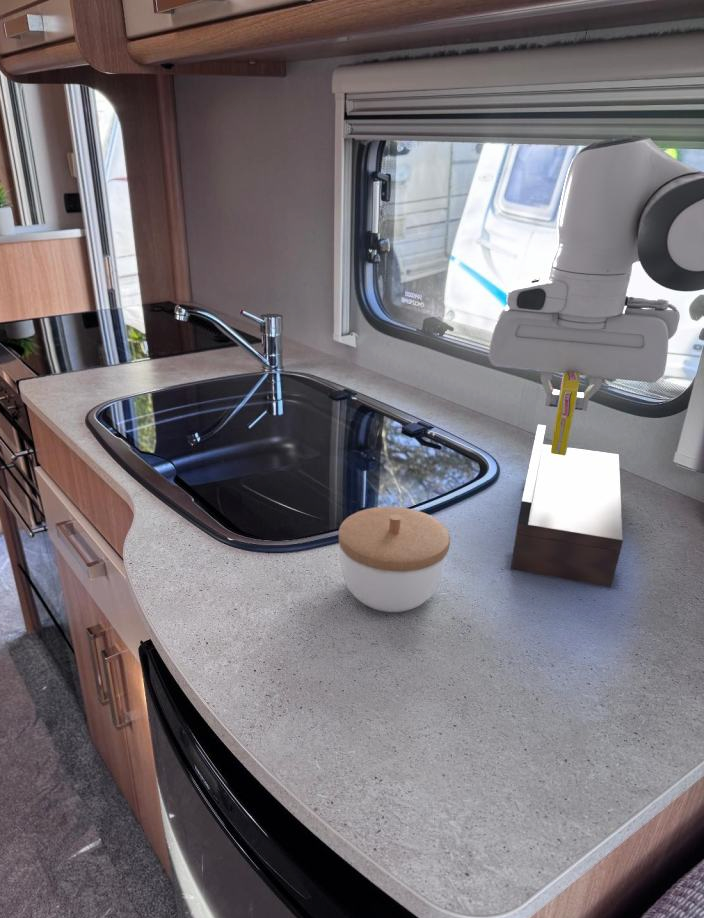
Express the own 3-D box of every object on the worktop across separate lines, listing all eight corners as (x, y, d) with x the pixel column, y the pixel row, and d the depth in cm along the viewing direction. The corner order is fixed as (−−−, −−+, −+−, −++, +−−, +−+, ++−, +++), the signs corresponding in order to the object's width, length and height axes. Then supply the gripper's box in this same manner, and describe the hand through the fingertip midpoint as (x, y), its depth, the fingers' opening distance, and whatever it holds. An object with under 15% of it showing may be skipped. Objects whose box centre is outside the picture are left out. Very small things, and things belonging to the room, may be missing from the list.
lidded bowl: (413, 644, 79) (421, 559, 73) (316, 606, 85) (317, 525, 79) (459, 589, 88) (469, 510, 83) (369, 558, 94) (373, 482, 89)
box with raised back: (608, 499, 109) (623, 435, 104) (610, 593, 88) (628, 518, 83) (527, 487, 113) (537, 424, 108) (509, 574, 91) (521, 501, 86)
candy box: (555, 407, 99) (568, 348, 95) (571, 410, 98) (585, 350, 94) (547, 453, 85) (562, 386, 81) (566, 456, 85) (582, 389, 81)
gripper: (681, 295, 83) (653, 408, 90) (500, 282, 89) (487, 389, 96) (686, 307, 78) (656, 426, 85) (494, 292, 84) (480, 405, 90)
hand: (565, 407), depth 90 cm, fingers closed on candy box, 2 cm apart
